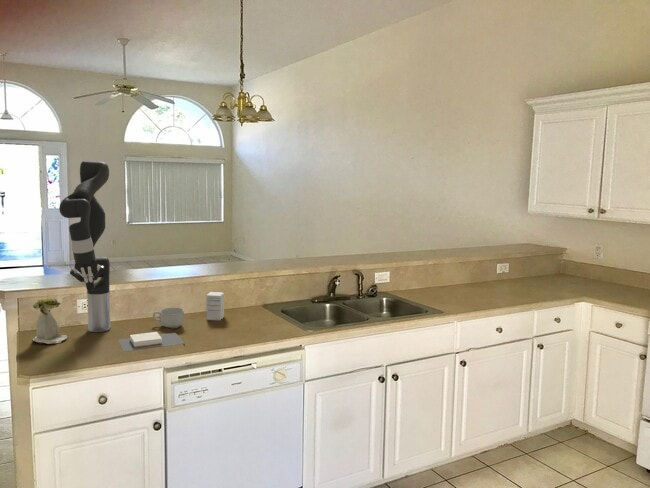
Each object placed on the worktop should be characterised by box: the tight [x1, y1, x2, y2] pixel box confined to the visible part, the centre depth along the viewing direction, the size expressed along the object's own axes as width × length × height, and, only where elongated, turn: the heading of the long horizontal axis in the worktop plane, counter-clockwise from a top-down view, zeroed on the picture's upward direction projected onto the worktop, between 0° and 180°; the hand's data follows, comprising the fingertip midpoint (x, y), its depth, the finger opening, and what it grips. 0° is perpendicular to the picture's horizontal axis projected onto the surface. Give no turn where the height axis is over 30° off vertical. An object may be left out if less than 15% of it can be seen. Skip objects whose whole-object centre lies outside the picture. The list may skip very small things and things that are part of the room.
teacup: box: [152, 306, 185, 330], centre depth 238 cm, size 14×11×8 cm
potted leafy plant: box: [31, 297, 68, 345], centre depth 212 cm, size 12×13×18 cm
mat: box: [117, 332, 185, 353], centre depth 214 cm, size 16×24×1 cm, turn 120°
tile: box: [129, 331, 162, 347], centre depth 213 cm, size 10×2×11 cm
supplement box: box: [206, 291, 225, 321], centre depth 254 cm, size 7×7×13 cm
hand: (91, 290), depth 204 cm, fingers closed
